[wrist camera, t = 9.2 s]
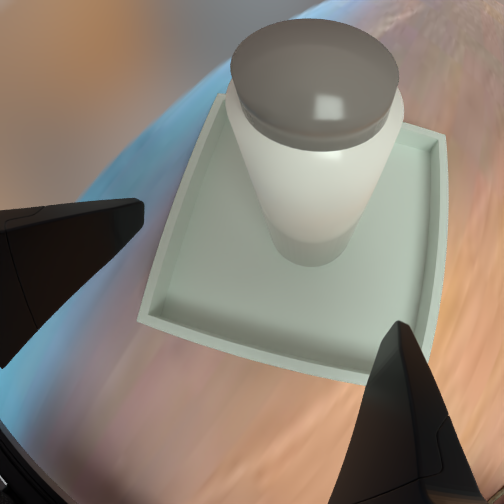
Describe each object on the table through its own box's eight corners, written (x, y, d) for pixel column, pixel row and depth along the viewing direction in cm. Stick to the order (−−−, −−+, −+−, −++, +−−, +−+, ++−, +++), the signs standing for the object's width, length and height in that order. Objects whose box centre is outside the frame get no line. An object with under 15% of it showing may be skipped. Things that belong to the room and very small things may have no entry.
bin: (404, 385, 15) (419, 393, 13) (155, 322, 18) (136, 321, 16) (433, 154, 18) (445, 135, 16) (225, 114, 22) (217, 93, 19)
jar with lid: (362, 252, 17) (452, 115, 5) (282, 277, 17) (239, 164, 5) (334, 181, 18) (356, 6, 6) (260, 202, 18) (200, 35, 7)
